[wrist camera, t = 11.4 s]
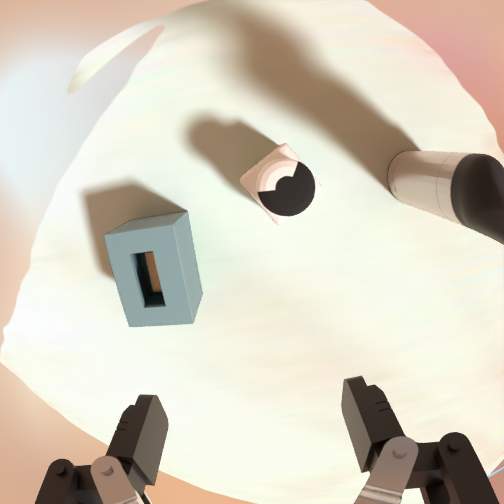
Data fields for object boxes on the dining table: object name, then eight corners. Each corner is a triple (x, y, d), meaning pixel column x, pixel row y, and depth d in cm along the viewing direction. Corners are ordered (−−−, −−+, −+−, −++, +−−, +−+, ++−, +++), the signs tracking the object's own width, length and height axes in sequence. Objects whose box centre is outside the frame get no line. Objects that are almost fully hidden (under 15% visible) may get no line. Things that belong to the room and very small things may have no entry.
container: (311, 183, 44) (335, 193, 32) (272, 215, 45) (282, 237, 33) (279, 144, 42) (292, 138, 30) (239, 177, 44) (236, 184, 31)
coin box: (187, 211, 45) (172, 224, 36) (202, 293, 49) (193, 323, 40) (129, 220, 45) (103, 235, 36) (148, 298, 49) (129, 327, 40)
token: (167, 240, 45) (156, 251, 40) (173, 275, 47) (164, 291, 42) (156, 241, 45) (144, 253, 40) (163, 276, 47) (153, 291, 42)
